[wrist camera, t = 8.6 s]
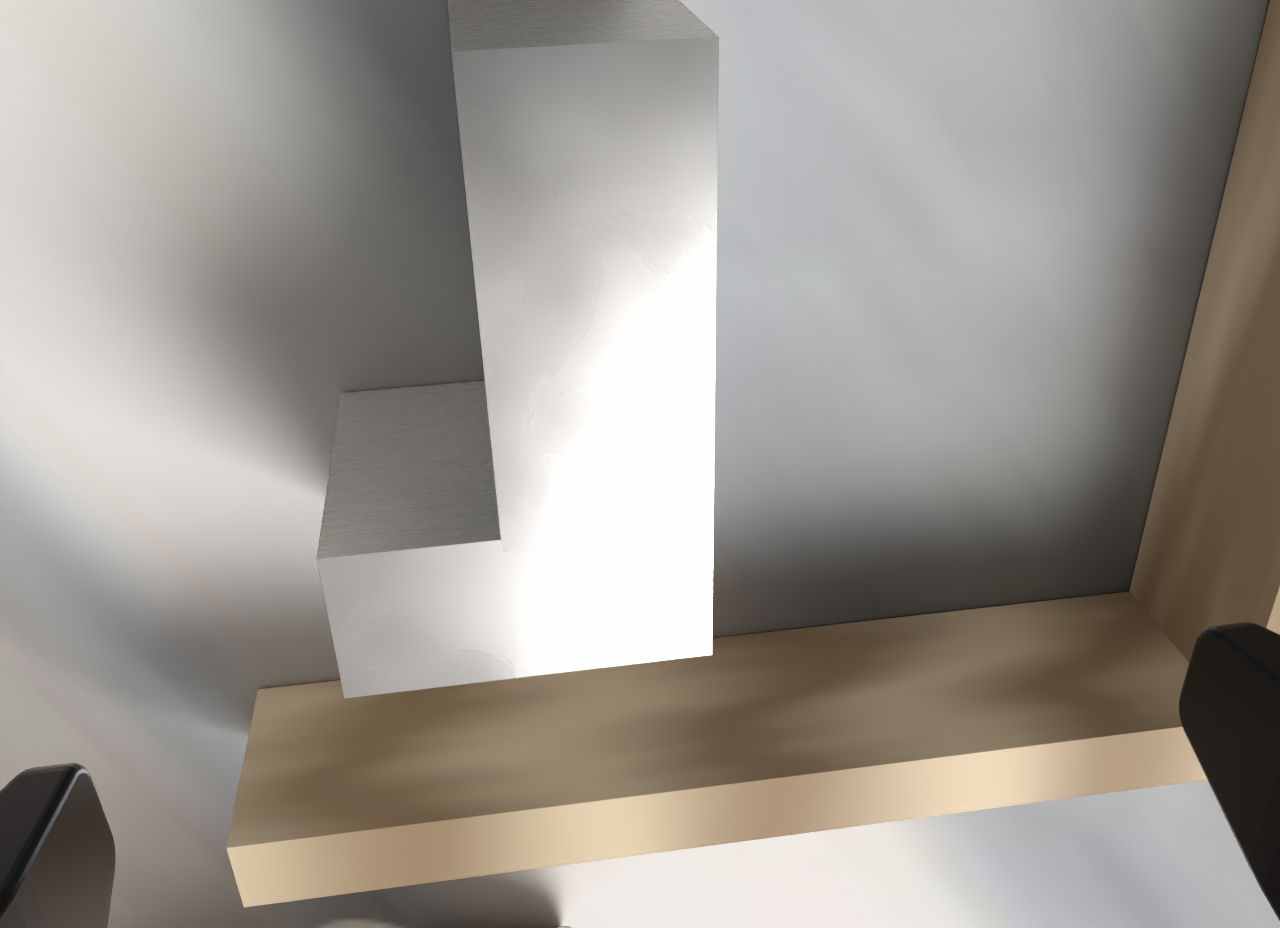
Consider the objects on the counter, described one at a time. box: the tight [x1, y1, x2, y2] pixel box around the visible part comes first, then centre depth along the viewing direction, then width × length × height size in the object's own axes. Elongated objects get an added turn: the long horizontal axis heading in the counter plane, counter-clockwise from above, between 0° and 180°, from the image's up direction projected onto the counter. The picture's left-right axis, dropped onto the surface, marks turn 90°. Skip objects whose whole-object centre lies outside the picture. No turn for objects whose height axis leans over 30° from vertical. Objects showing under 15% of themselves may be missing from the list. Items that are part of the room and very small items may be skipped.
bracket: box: [316, 0, 719, 698], centre depth 17 cm, size 9×6×5 cm, turn 1°
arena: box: [227, 0, 1280, 907], centre depth 17 cm, size 20×23×4 cm
